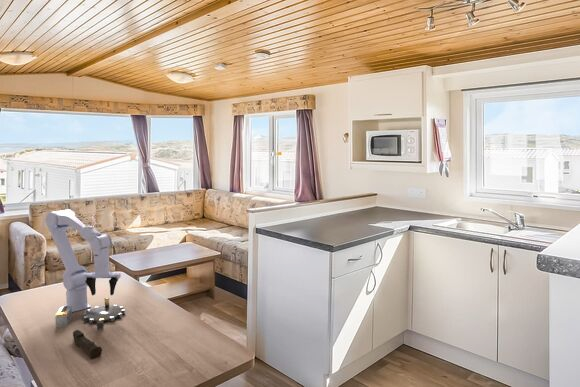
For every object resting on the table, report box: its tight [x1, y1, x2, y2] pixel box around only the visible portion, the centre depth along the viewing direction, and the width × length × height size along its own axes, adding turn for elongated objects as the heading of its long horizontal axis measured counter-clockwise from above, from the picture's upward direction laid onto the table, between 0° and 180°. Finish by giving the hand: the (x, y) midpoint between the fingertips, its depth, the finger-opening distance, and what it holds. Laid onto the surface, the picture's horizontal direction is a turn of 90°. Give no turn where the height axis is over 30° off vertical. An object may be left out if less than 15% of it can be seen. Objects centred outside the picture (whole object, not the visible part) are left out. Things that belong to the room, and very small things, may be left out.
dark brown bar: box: [72, 329, 103, 360], centre depth 145 cm, size 19×4×5 cm, turn 46°
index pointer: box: [96, 320, 105, 330], centre depth 161 cm, size 3×2×2 cm, turn 18°
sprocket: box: [82, 296, 126, 324], centre depth 172 cm, size 16×16×5 cm
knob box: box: [54, 305, 73, 329], centre depth 165 cm, size 10×4×5 cm, turn 19°
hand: (102, 294), depth 174 cm, fingers open, 7 cm apart
